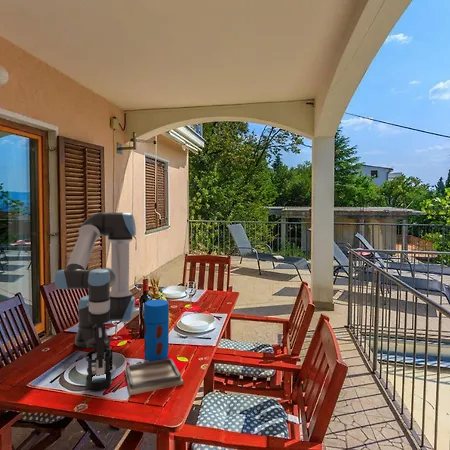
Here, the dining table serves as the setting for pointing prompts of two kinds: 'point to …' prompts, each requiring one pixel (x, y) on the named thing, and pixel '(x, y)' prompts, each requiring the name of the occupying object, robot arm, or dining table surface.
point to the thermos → (156, 329)
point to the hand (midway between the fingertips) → (99, 368)
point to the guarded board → (152, 376)
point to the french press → (92, 368)
